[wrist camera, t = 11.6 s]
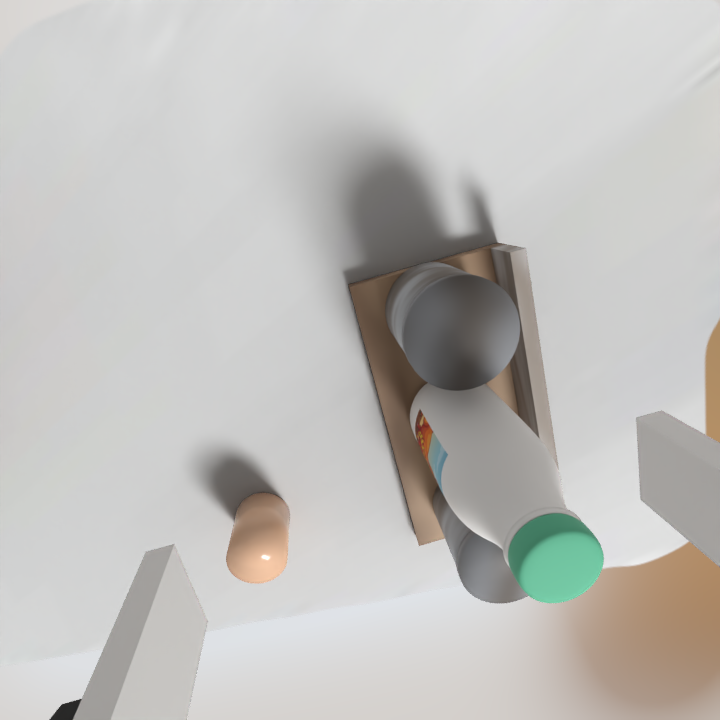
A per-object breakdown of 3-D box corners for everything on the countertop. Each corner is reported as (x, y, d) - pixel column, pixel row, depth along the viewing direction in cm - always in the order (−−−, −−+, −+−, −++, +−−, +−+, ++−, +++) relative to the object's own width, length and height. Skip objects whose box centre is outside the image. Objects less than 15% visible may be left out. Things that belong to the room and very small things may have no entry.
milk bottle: (419, 363, 42) (513, 495, 23) (503, 376, 43) (659, 512, 24) (399, 444, 44) (471, 626, 25) (480, 454, 45) (606, 635, 26)
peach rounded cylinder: (246, 544, 47) (237, 590, 42) (228, 501, 46) (217, 543, 40) (296, 529, 47) (294, 573, 42) (280, 486, 46) (276, 526, 40)
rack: (416, 539, 49) (443, 621, 39) (347, 279, 41) (359, 303, 31) (541, 503, 49) (599, 576, 40) (497, 238, 41) (556, 247, 31)
